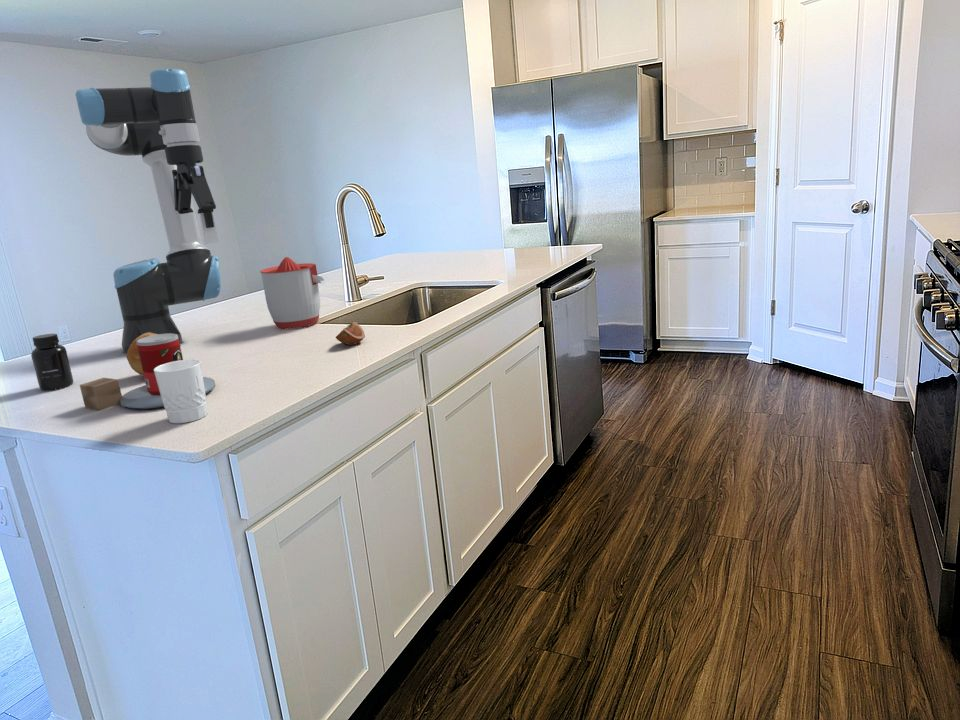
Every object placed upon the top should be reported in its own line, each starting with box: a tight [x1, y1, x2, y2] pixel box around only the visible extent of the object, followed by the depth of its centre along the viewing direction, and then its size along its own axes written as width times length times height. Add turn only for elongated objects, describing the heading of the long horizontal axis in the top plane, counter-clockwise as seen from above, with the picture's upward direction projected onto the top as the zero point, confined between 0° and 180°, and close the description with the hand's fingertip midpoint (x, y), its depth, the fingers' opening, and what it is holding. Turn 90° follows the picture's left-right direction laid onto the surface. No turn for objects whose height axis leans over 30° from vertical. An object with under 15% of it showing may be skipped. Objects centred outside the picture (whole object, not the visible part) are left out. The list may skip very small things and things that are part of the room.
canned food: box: [137, 333, 184, 395], centre depth 140 cm, size 8×8×11 cm
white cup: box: [154, 358, 208, 424], centre depth 126 cm, size 8×8×10 cm
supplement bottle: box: [30, 333, 74, 391], centre depth 156 cm, size 7×7×12 cm
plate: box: [120, 376, 216, 409], centre depth 142 cm, size 18×18×1 cm
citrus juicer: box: [259, 256, 325, 330], centre depth 199 cm, size 16×17×20 cm
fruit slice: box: [335, 321, 366, 345], centre depth 171 cm, size 8×7×5 cm
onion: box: [126, 332, 158, 377], centre depth 158 cm, size 10×10×10 cm
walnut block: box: [79, 377, 123, 411], centre depth 139 cm, size 5×5×5 cm
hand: (201, 242), depth 158 cm, fingers open, 13 cm apart
